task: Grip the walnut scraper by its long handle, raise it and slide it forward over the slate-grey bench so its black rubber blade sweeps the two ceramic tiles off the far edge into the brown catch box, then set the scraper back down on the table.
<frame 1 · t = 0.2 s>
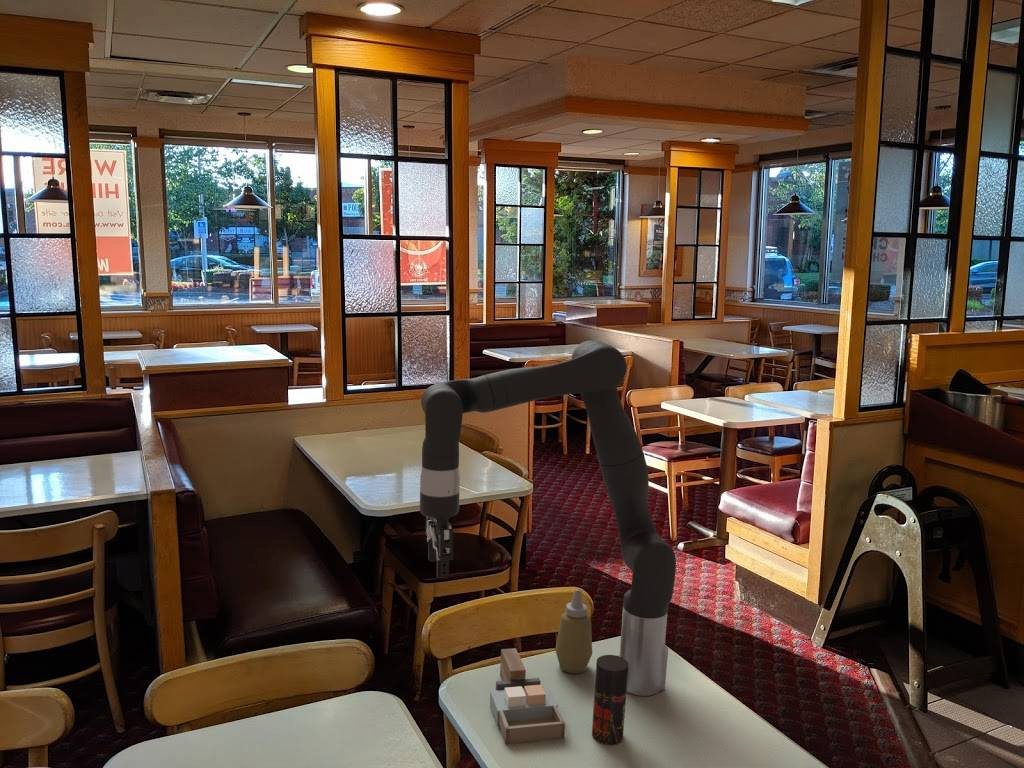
hand: (438, 569, 157), 28 cm above the table, fingers open, 8 cm apart
catch box: (531, 731, 153), on the table
tile b: (514, 701, 158), point 3 cm above the table, touching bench
tile a: (534, 699, 159), point 3 cm above the table, touching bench
deodorant: (607, 736, 153), on the table
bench: (522, 711, 160), on the table
scraper: (511, 685, 169), on the table
squeeze bottle: (572, 668, 177), on the table
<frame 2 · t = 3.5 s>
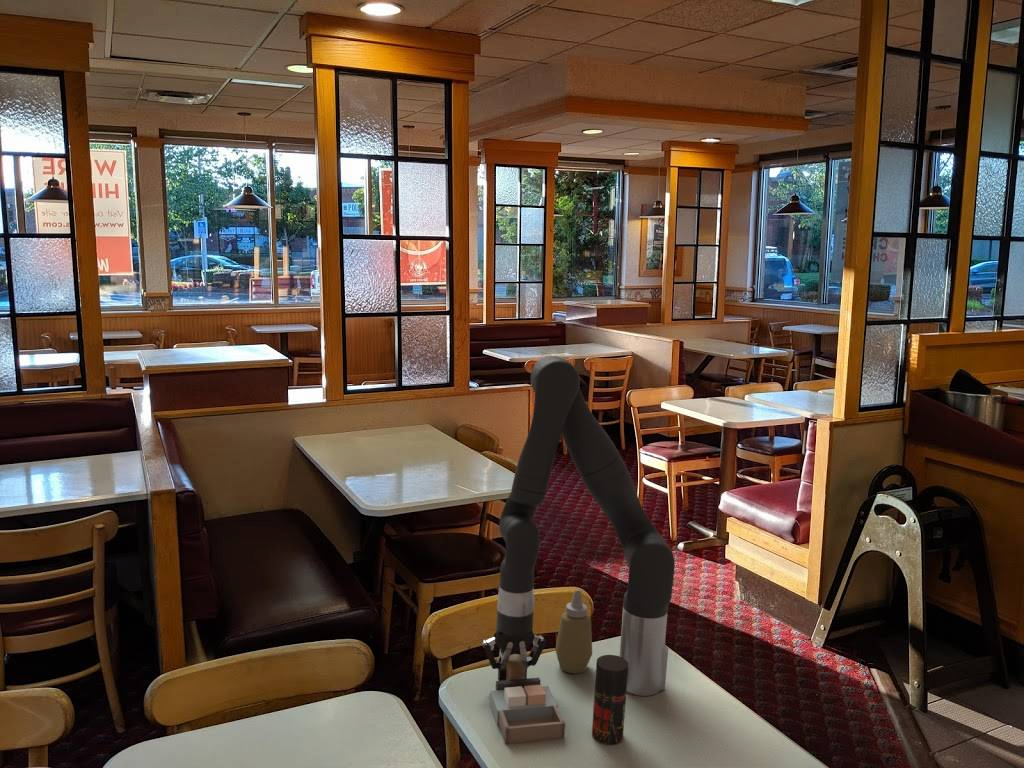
hand: (511, 683, 169), 0 cm above the table, fingers closed on scraper, 3 cm apart
scraper: (511, 685, 169), on the table, touching gripper
everything else where it was.
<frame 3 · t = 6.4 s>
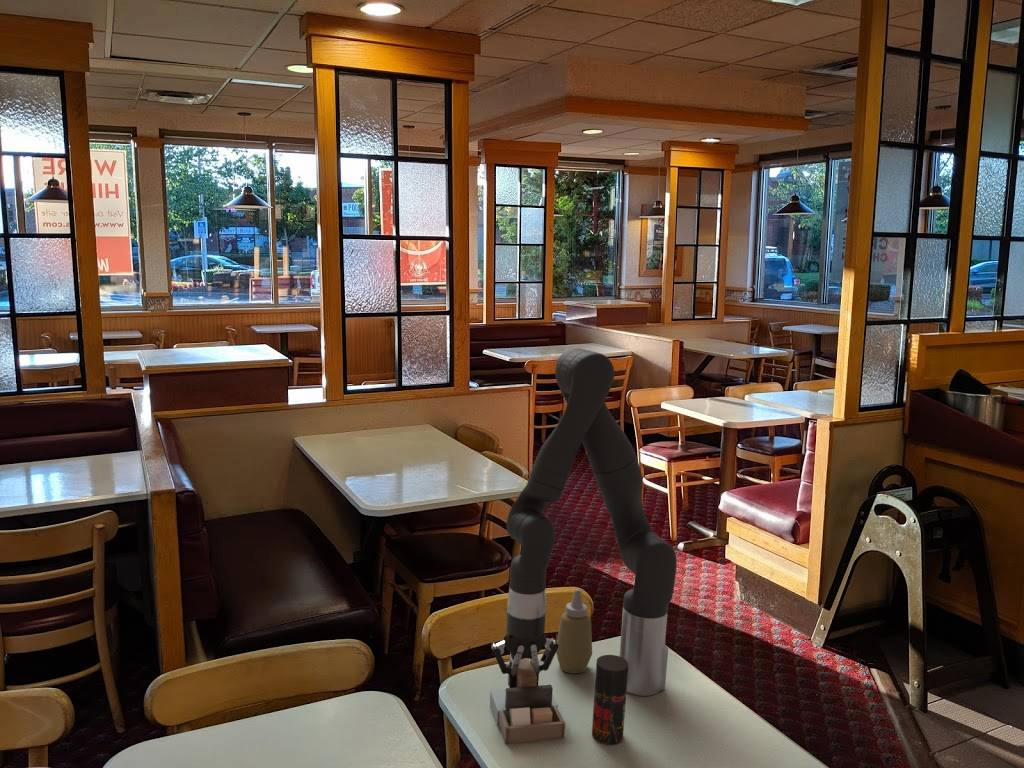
hand: (522, 689, 160), 4 cm above the table, fingers closed on scraper, 3 cm apart
tile b: (518, 717, 154), point 2 cm above the table, tilted 59°, touching catch box
tile a: (540, 716, 154), point 2 cm above the table, tilted 90°, touching catch box
scraper: (522, 692, 161), point 3 cm above the table, touching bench, gripper
everything else where it was.
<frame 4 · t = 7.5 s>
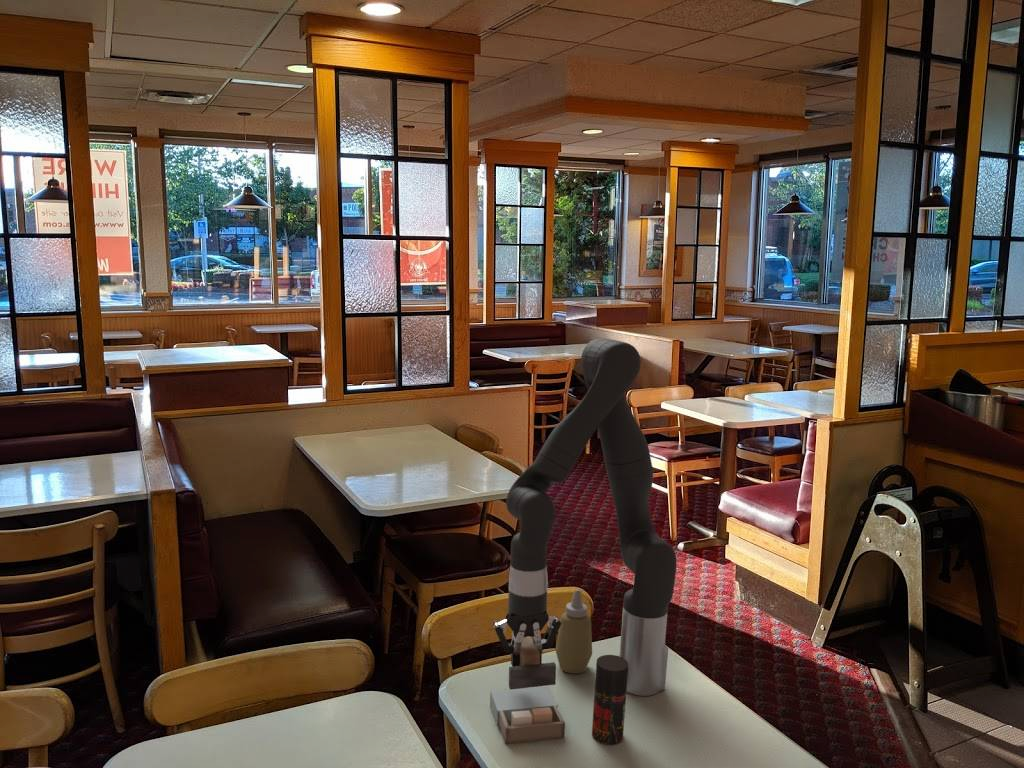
hand: (525, 667, 159), 9 cm above the table, fingers closed on scraper, 3 cm apart
tile b: (520, 719, 153), point 2 cm above the table, tilted 90°, touching catch box
scraper: (525, 671, 160), point 8 cm above the table, touching gripper
everything else where it was.
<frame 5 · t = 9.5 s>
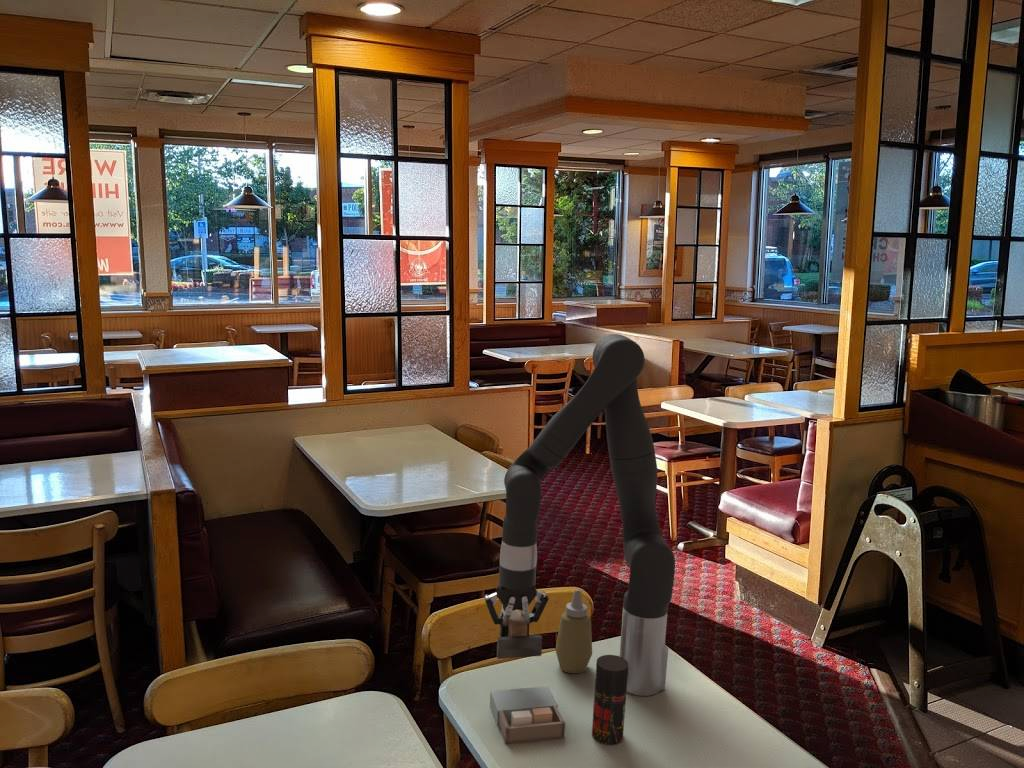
hand: (513, 640, 167), 10 cm above the table, fingers closed on scraper, 3 cm apart
scraper: (513, 643, 168), point 9 cm above the table, touching gripper
everything else where it was.
when the fingers open (2 cm above the table, at t = 11.0 s): scraper stays where it is, on the table.
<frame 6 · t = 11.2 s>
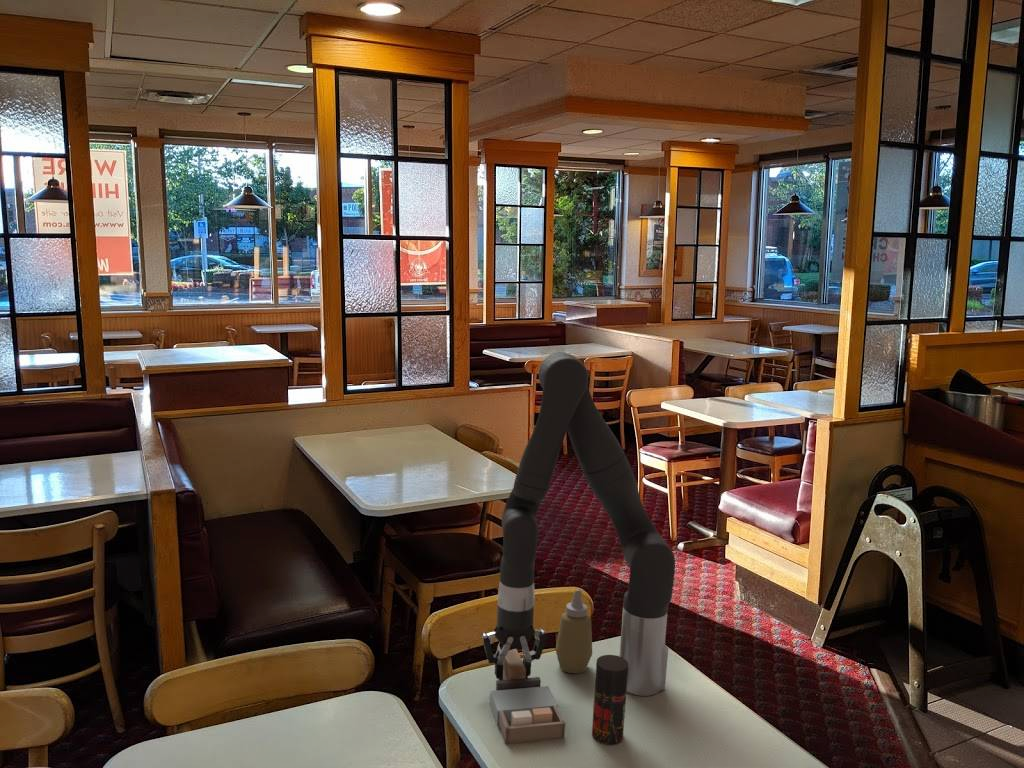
hand: (512, 677, 169), 2 cm above the table, fingers open, 4 cm apart
scraper: (511, 684, 169), on the table
everything else where it was.
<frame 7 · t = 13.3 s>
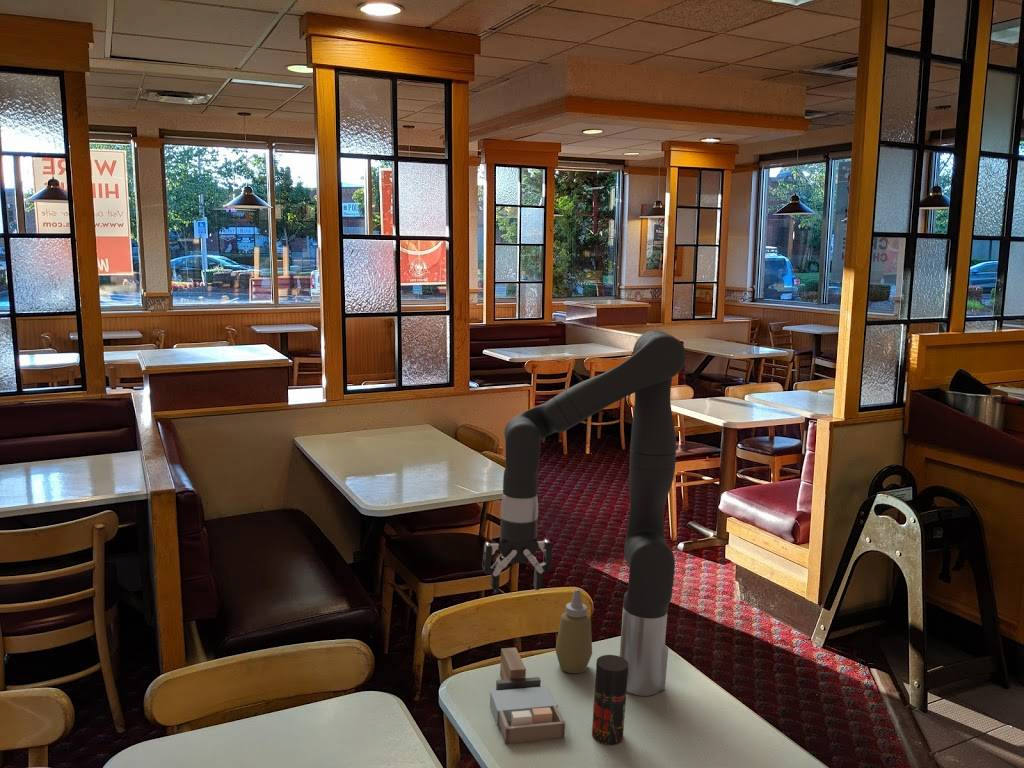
hand: (516, 589, 166), 21 cm above the table, fingers open, 8 cm apart
nothing on the table moved.
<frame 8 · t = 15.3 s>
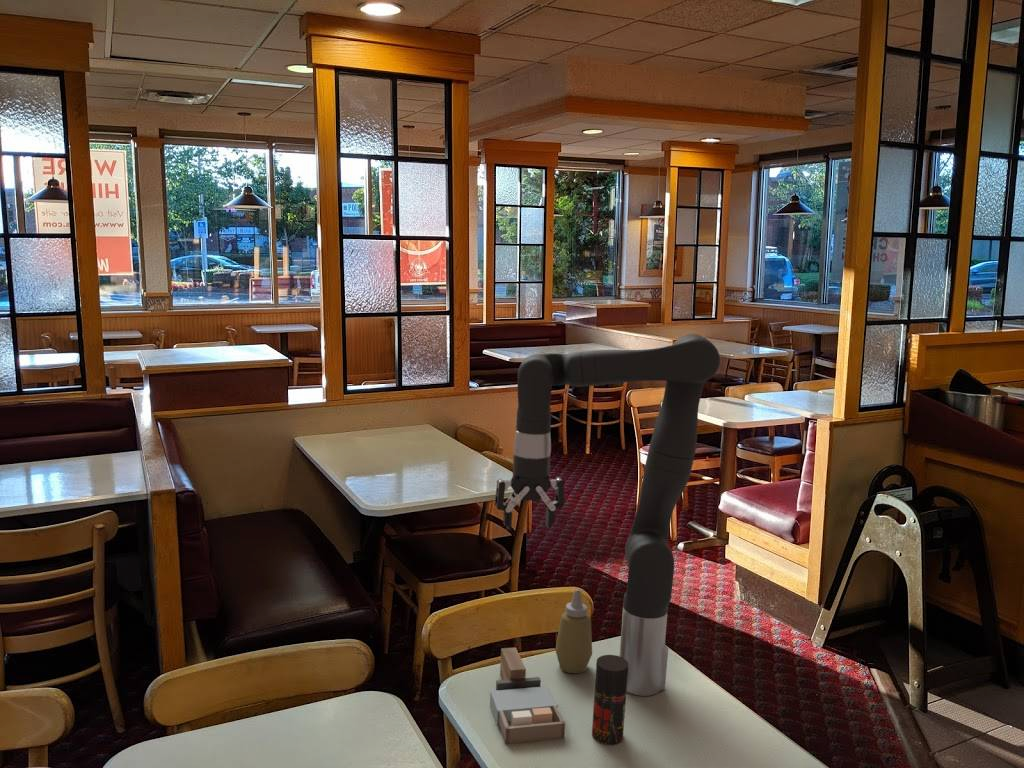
hand: (528, 527, 168), 33 cm above the table, fingers open, 8 cm apart
nothing on the table moved.
at the end: tile a inside the target area (2.4 cm from its centre), point 2.2 cm above the table; tile b inside the target area (2.3 cm from its centre), point 2.2 cm above the table; the gripper is holding nothing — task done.
